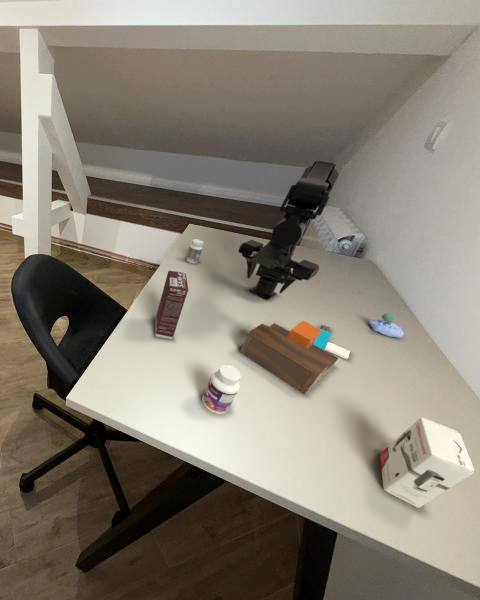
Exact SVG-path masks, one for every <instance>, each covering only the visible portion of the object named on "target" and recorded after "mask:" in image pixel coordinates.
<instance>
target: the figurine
mask: <svg viewBox="0 0 480 600" xmlns="http://www.w3.org/2000/svg"><path fill="white" fill-rule="evenodd" d="M395 319H396V317H395V315H394V314H393V313H391V312H386V313H383V314H382V315H381V318H377V319H370V320H369V325H370V327H372V330H373V331H374V332H377V333H380V334H381V335H384V336H386V337H391V338H398V339H400V338H403V336H404V334H405V333H404V331H403V329H402V327H401V326H398V325H397V324H396V323H394V322H393V321H394V320H395Z"/></svg>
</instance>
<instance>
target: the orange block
mask: <svg viewBox="0 0 480 600" xmlns="http://www.w3.org/2000/svg"><path fill="white" fill-rule="evenodd" d="M317 327H318V326H315V325H313V324H311V323H309V322H307V321H305V320H302V321H301V322H300V323H298V324H297V325H296V326H294V327H292V328H291V329H290V330H289V331H290V333H289V334H288V336H287V338H289V339H291V340H293V341H294V342H296V343H298V344H300V345H302V346H303V347H305V348H307V349H309V348H310V347H311V346H312V345H313V344H314V342H315V341H316V339H317V338H318V336H319V335H320V333H321V332H322V330H321V329H322V328H320V327H318V328H317ZM319 328H320V329H319Z"/></svg>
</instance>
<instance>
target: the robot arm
mask: <svg viewBox="0 0 480 600" xmlns="http://www.w3.org/2000/svg"><path fill="white" fill-rule="evenodd" d="M336 166H337V164H336V163H335V162H333V161H326V160H321V159H320V160H314V162H313V164H312V165H310V166H308V167H306V168H305V169H304V171H303V173H302V175H301V177H300V178H299V179H298V180H297V181H296V183H295V184H291V186H290V188H289V190H288V192H287V194H286V196H285V198H284V199H283V201H282V204H281V206H280V208H279V210H278V211H279V212H282V213H283V214H282V217H281V219H280V220H279V221H278V223H277V224H276V225H275V226H274V227H273V229H272V232H271V238H270V240H269V241H268V242H267V243H266V245H264V243H262V242H260V241H257V240H254V239H250V240H247V241H244V242H243V243H241V244H240V245H239V248H238V253H240V254H241V257H243V258H244V259H245V261H246V278H247V279H251V277H252V275H253V274H254V272H255V271H256V272H255V276H258V277H259V278H258V280H257V282H256V284H255V286H254V287H252V288H250V289H249V292H251V293H253V294H255V295H256V296H258V297H261V298H263V299H264V300H266V301H267V300H268V301H269V300H270V299H272V298H274V297H275V296H277V294H282V293H284V292H285V291H286V290H287V289H288V288H289V287H290V286H291V285H293V284H294V283H295V282H296V281H303V280H305V281H309V280H311V279H312V278H314V277H315V276H317V274H318V272H319V270H320V266H319V264H318V263H315V262H312V261H309V260H307V259H303V260H301V261H296V260H293V259H292V257H293V256H294V254H295V250H296V248H297V247H298V244H299V243H300V242H301V240H302V236H303V234H304V232H305V230H306V228H307V227H308V224H309V222H310V220H316V218H317V217H318V216H321V215H322V213H323V212H324V209H325V207H326V206H327V204H328V201H329V199H330V193H331V191H332V190H333V188H334V186H335V184H336V183H337V180H338V178H339V176H340V173H339V172H338V170H337V169H336ZM257 265H259V266H258V268H257V270H256V267H257ZM279 284H281V285H282V286H281V288H280V290H279V292H278V293H277V292H276V289H277V287H278V285H279Z"/></svg>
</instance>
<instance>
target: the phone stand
mask: <svg viewBox="0 0 480 600" xmlns="http://www.w3.org/2000/svg"><path fill="white" fill-rule="evenodd" d="M316 327H317V328H319V329H321V330H322V332H321V333H320V335H319V336H318V338H317V339H316V341H315V342H314V345H315V346H317V347H319V348H321V349H323V350H325V351H326V352H328V353H330V354H332V355H334V356H337V357H340V358H342V359H344V360H348V359H349V357H350V354H351V350H348V349H347V348H344V347H342V346H339V345H337V344H335V343H332V342H330V338H331V336H332V333H331V332H329V331H330V329H331V327H329V326H327V325H323V326H322V328H321V327H318V326H316Z"/></svg>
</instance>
